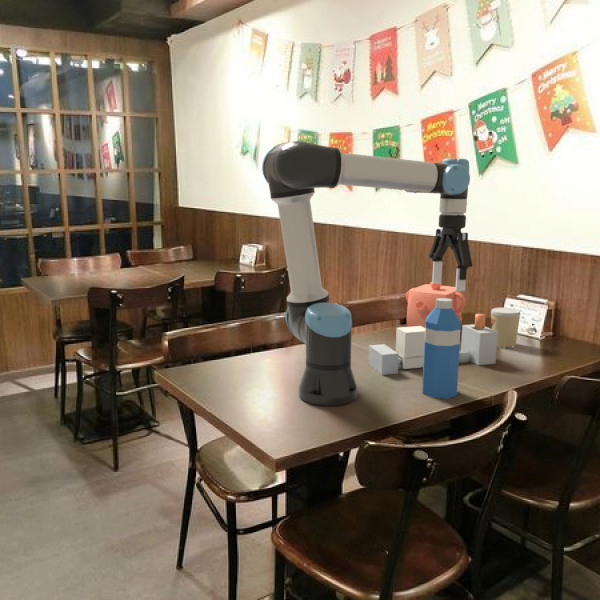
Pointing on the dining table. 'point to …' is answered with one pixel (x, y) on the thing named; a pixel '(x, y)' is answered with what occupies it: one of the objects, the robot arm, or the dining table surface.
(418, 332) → the block
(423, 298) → the teapot
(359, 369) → the dining table surface
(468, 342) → the grey block with recess
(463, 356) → the rail
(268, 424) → the dining table surface
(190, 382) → the dining table surface
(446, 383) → the water bottle
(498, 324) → the coffee cup
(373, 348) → the block
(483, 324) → the button
